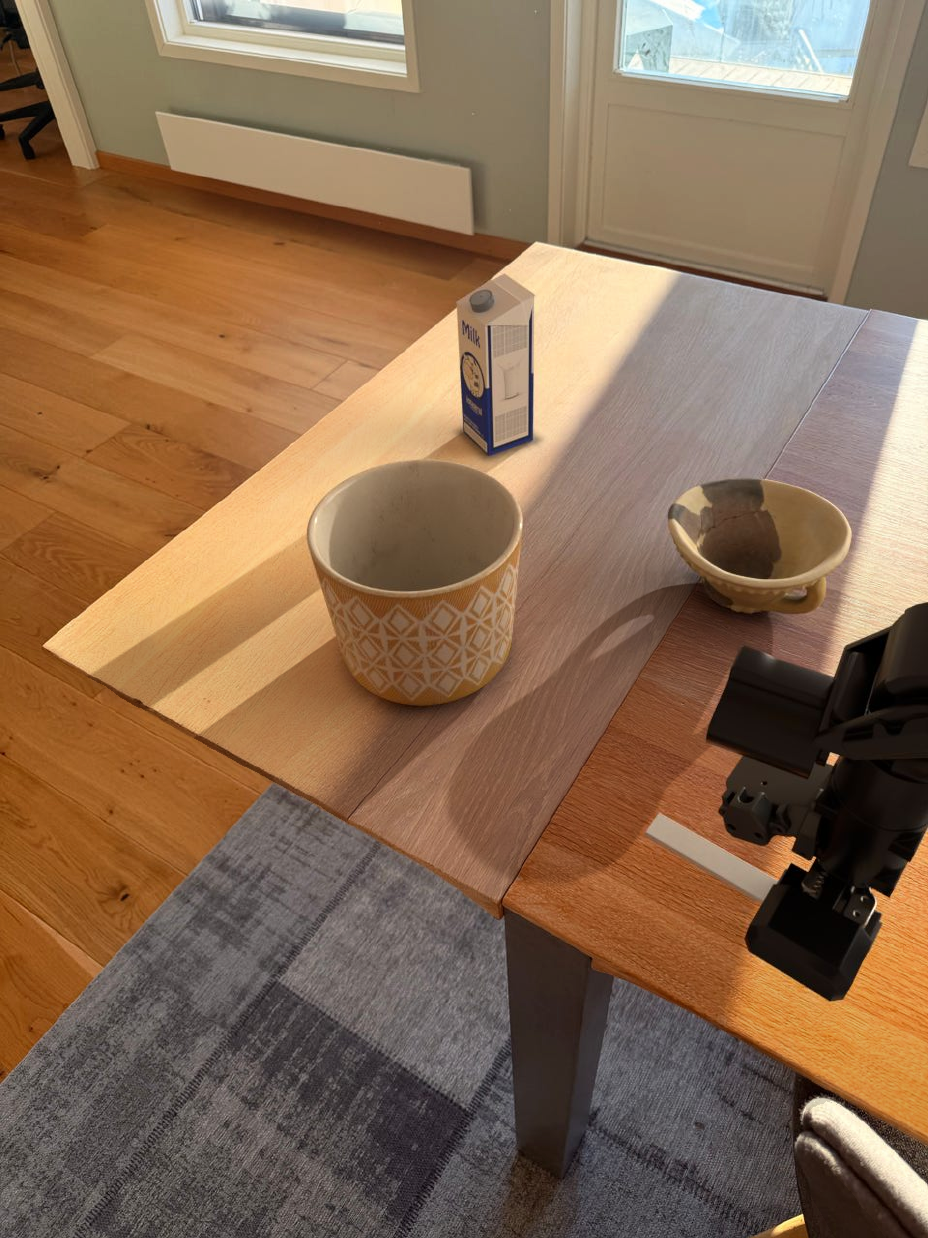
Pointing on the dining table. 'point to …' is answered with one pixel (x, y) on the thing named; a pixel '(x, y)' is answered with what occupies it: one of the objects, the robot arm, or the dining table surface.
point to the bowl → (759, 543)
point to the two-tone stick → (715, 860)
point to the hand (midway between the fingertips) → (822, 916)
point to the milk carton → (497, 364)
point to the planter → (419, 577)
